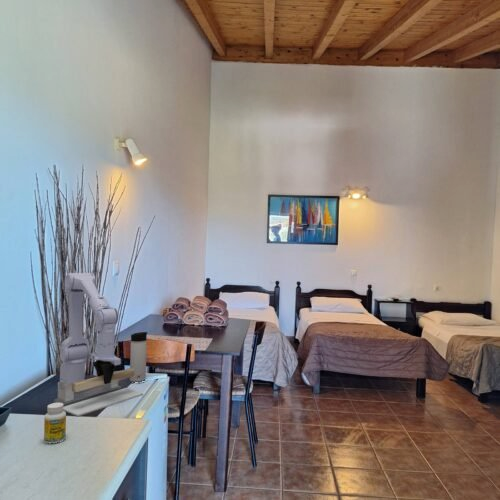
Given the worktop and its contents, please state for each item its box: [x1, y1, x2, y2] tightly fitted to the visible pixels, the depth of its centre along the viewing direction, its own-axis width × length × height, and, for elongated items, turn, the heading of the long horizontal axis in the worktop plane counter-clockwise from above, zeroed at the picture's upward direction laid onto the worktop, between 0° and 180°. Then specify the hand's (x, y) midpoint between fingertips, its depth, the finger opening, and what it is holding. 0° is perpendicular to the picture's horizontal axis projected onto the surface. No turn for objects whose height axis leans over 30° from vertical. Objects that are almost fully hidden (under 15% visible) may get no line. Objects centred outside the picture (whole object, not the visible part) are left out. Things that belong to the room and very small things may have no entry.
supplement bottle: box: [43, 402, 67, 445], centre depth 111 cm, size 5×5×10 cm
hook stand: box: [53, 370, 122, 407], centre depth 146 cm, size 6×23×7 cm, turn 145°
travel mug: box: [129, 331, 148, 384], centre depth 164 cm, size 6×7×20 cm
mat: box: [63, 387, 144, 417], centre depth 141 cm, size 10×26×1 cm, turn 145°
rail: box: [72, 367, 134, 393], centre depth 141 cm, size 2×23×2 cm, turn 145°
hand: (104, 382), depth 141 cm, fingers closed on rail, 2 cm apart
